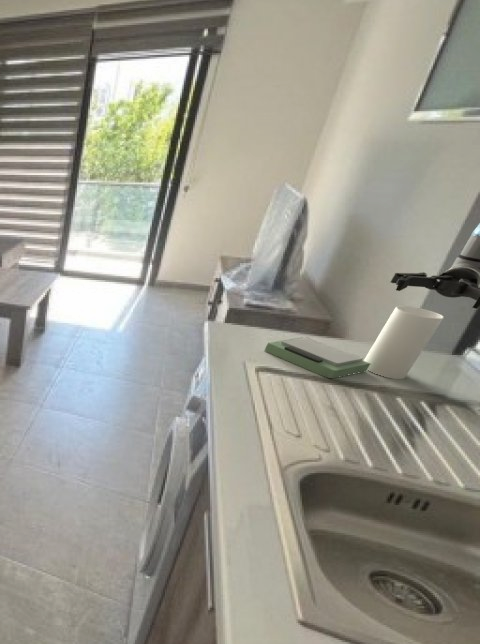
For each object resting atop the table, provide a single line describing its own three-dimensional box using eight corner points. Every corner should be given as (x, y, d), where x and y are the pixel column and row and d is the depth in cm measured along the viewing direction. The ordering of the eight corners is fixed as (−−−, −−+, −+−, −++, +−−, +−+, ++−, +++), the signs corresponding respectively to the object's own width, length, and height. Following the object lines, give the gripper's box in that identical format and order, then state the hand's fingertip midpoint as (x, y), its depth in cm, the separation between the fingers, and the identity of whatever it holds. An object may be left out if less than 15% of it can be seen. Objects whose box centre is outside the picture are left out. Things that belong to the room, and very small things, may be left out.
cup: (399, 369, 122) (437, 310, 114) (409, 382, 116) (449, 321, 108) (357, 360, 126) (391, 303, 118) (364, 372, 119) (401, 312, 112)
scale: (365, 371, 120) (372, 360, 118) (330, 379, 115) (336, 367, 114) (298, 345, 133) (303, 334, 131) (264, 350, 128) (269, 340, 127)
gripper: (519, 310, 120) (503, 326, 109) (388, 281, 138) (364, 292, 127) (540, 281, 116) (526, 295, 106) (403, 255, 134) (379, 265, 124)
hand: (437, 293), depth 116 cm, fingers open, 13 cm apart
